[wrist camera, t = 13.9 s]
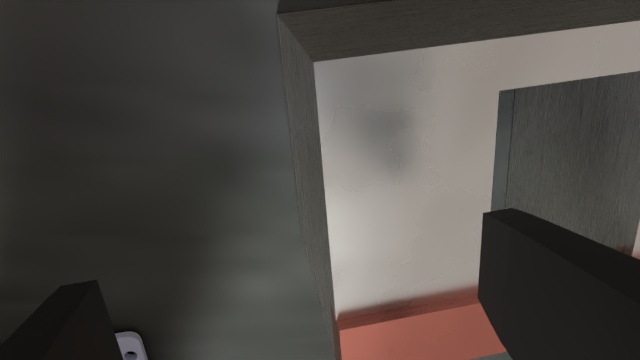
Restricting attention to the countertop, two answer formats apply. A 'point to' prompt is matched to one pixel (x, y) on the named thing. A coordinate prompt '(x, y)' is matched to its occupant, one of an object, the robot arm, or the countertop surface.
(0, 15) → the countertop surface
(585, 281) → the robot arm
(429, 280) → the dispenser
